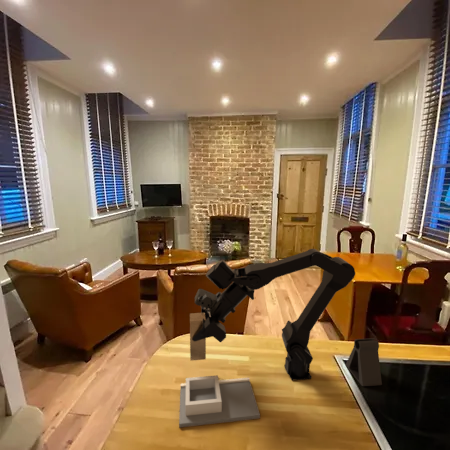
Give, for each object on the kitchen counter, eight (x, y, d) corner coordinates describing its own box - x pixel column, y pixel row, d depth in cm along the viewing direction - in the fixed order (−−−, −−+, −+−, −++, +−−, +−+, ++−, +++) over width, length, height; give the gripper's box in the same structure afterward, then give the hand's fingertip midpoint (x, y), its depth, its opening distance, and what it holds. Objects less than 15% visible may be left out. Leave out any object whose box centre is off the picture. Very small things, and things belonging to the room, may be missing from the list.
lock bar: (204, 349, 81) (204, 312, 79) (205, 359, 77) (205, 320, 74) (190, 350, 80) (189, 313, 78) (190, 360, 76) (189, 321, 74)
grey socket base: (248, 381, 77) (249, 369, 76) (259, 418, 65) (260, 404, 64) (180, 388, 74) (180, 375, 73) (179, 427, 62) (178, 413, 62)
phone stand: (381, 385, 76) (386, 348, 74) (362, 387, 76) (366, 349, 74) (363, 364, 85) (366, 331, 83) (345, 365, 84) (349, 331, 82)
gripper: (208, 270, 84) (174, 304, 85) (213, 295, 66) (170, 338, 66) (231, 292, 87) (199, 324, 87) (243, 321, 68) (201, 362, 69)
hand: (193, 335), depth 77 cm, fingers closed on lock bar, 4 cm apart
